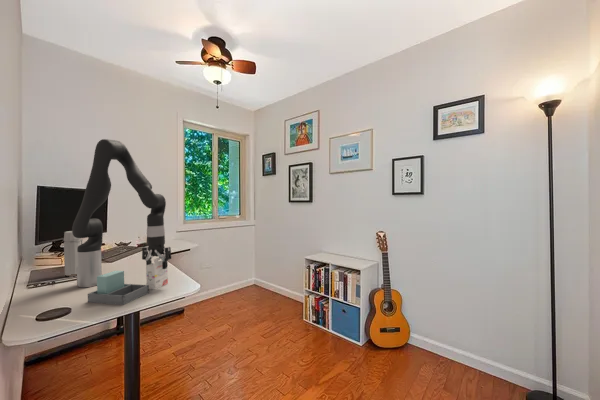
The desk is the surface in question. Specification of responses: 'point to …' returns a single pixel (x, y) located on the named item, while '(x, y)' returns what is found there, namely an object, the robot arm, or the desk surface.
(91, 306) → the desk surface
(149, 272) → the ink cartridge box
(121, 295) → the cartridge holder
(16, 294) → the desk surface
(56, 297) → the desk surface
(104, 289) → the teal block
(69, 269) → the water bottle
